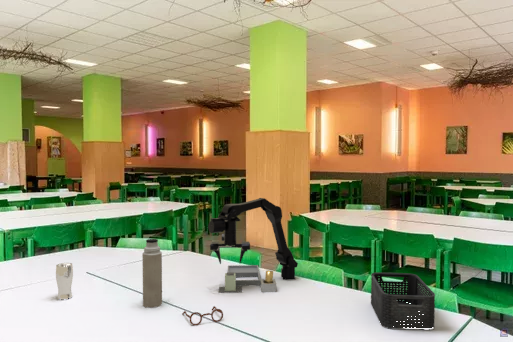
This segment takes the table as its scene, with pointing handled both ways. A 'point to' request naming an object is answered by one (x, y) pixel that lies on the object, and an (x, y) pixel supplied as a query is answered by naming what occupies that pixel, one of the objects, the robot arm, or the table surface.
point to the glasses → (204, 315)
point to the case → (245, 274)
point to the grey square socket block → (268, 286)
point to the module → (230, 281)
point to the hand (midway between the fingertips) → (230, 263)
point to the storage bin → (396, 310)
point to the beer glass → (64, 280)
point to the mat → (222, 290)
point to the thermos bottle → (152, 274)
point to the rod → (269, 277)
